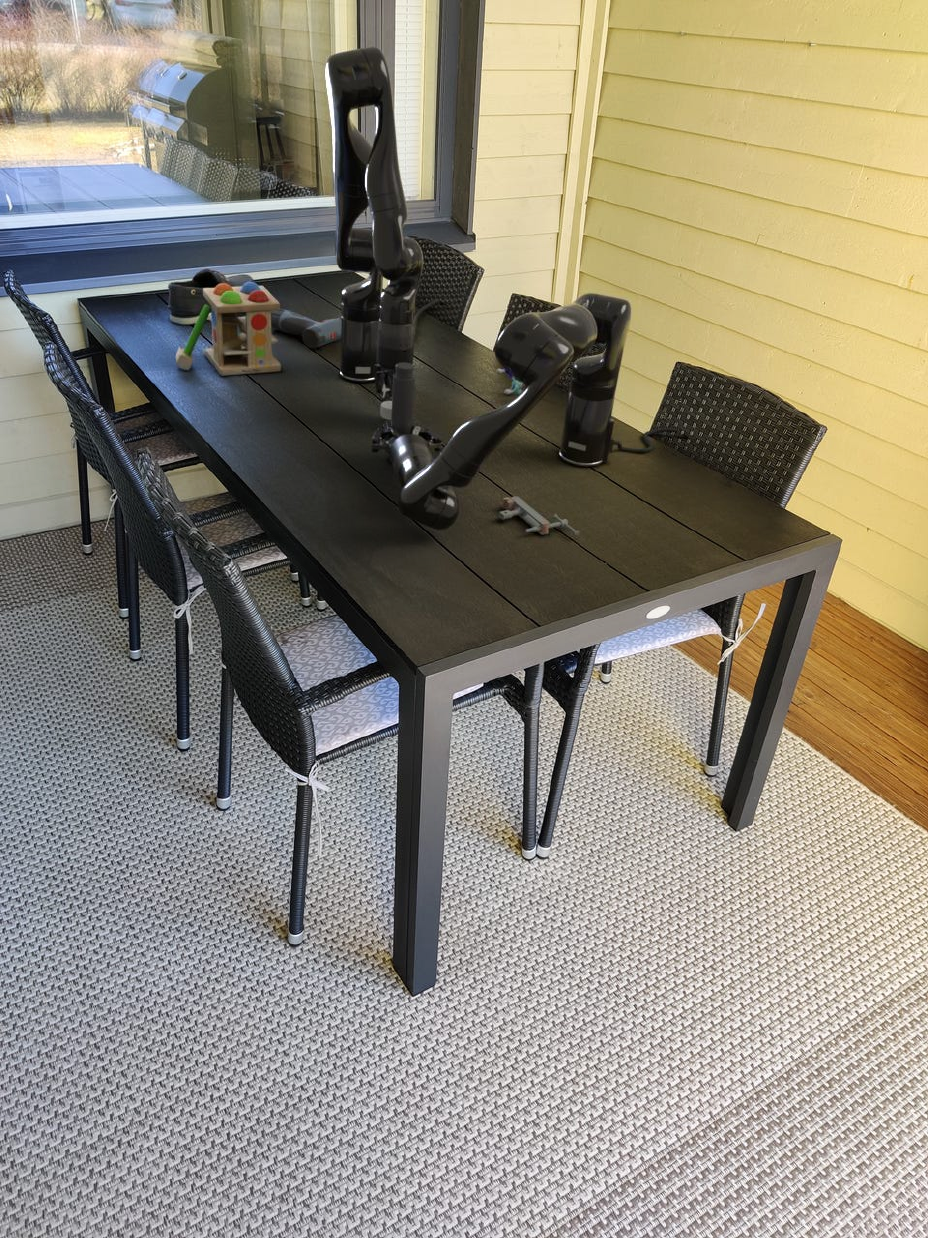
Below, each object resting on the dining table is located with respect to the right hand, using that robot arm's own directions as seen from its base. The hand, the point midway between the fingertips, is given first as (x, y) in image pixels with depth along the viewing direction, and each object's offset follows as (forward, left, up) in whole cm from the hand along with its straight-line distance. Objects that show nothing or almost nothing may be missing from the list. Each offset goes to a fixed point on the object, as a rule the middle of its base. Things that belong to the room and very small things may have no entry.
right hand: (399, 424), depth 194 cm
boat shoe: (+35, -92, -7) cm, 99 cm away
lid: (-1, -15, -3) cm, 15 cm away
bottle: (0, +3, -7) cm, 7 cm away
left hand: (-1, -15, -6) cm, 16 cm away
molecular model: (-33, -30, -7) cm, 45 cm away
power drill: (+11, -73, -7) cm, 74 cm away
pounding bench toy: (+33, -50, -7) cm, 60 cm away
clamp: (-20, +31, -7) cm, 37 cm away
